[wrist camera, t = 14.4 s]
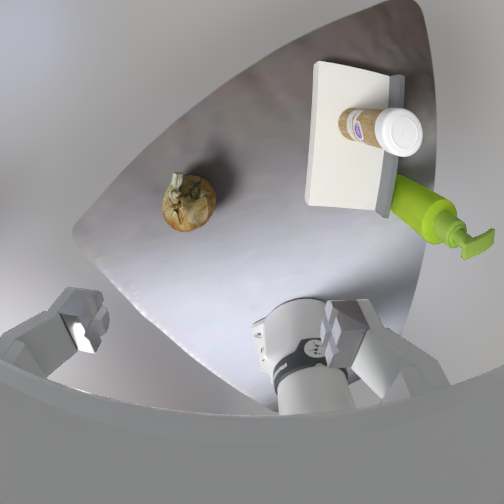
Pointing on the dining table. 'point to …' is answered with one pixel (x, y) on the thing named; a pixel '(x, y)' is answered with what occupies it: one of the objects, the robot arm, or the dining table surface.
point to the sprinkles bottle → (383, 129)
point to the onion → (188, 202)
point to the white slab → (346, 151)
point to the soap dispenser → (435, 218)
